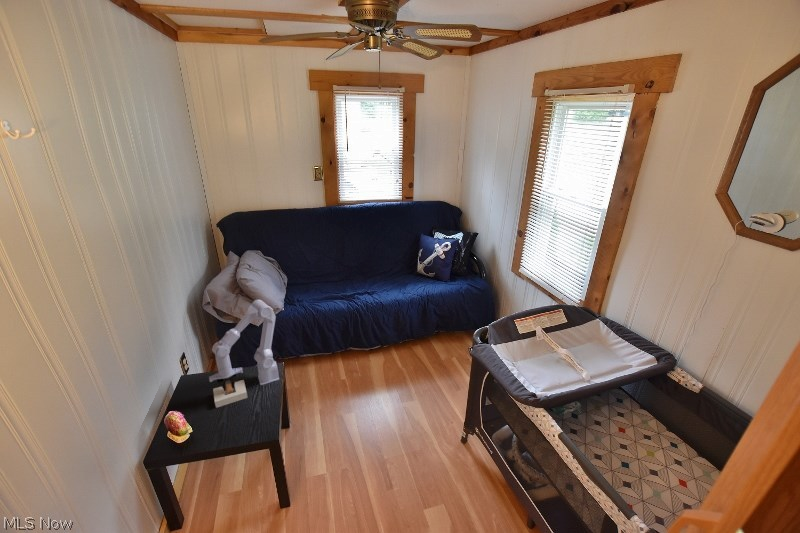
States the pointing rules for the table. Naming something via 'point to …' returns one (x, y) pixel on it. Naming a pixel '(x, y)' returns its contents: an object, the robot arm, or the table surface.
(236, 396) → the socket plate
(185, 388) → the table surface
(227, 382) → the peg
